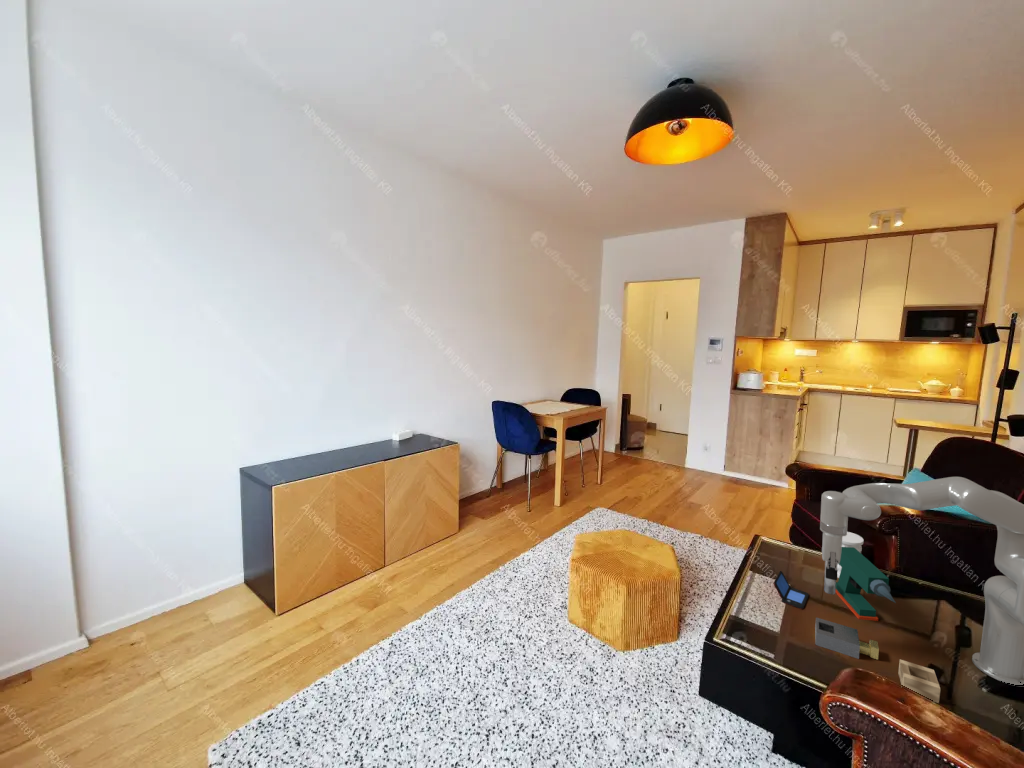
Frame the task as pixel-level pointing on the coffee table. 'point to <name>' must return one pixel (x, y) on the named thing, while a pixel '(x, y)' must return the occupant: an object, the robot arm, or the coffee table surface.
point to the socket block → (837, 637)
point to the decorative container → (850, 545)
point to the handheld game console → (790, 592)
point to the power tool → (860, 583)
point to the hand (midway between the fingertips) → (830, 575)
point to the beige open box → (919, 680)
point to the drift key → (870, 648)
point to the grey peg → (829, 583)
